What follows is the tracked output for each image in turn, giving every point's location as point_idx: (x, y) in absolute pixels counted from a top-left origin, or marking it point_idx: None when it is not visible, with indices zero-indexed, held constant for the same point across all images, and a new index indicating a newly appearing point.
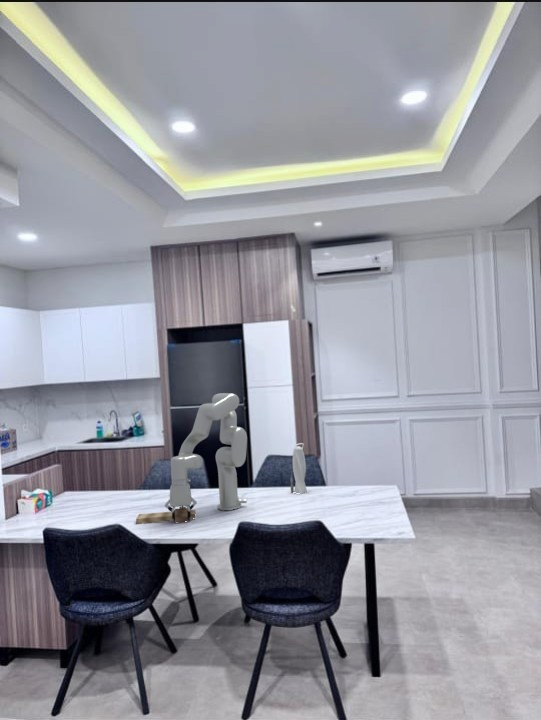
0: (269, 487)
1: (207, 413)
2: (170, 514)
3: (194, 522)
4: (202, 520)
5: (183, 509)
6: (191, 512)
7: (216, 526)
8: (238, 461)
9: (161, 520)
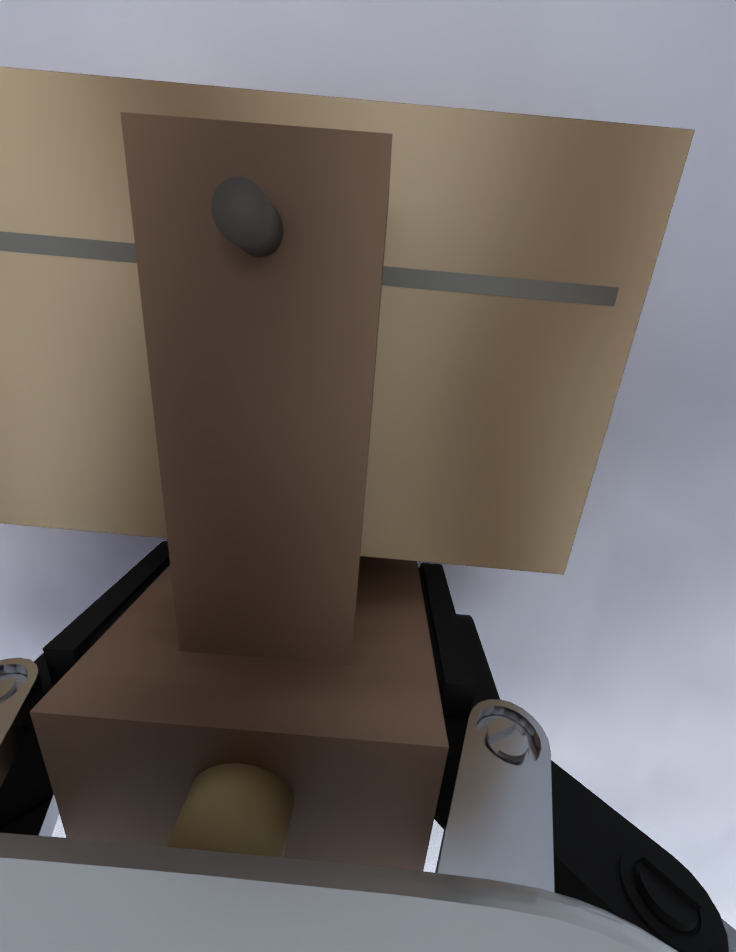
0: None
1: None
2: (4, 397)
3: (494, 666)
4: (626, 622)
5: (314, 837)
6: (521, 423)
7: (710, 864)
8: None
9: None
